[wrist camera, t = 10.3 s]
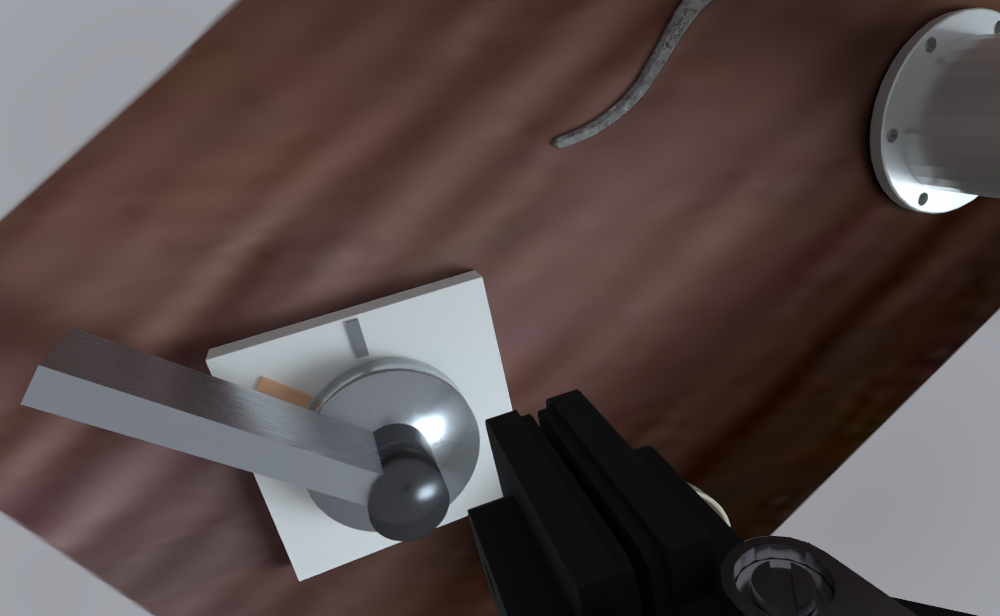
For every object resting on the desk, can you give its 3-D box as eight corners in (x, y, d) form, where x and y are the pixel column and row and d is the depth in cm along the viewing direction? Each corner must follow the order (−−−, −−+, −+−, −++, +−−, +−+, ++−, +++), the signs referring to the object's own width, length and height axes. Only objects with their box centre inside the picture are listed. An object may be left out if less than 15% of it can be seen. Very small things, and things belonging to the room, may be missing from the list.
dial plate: (474, 270, 34) (483, 278, 32) (522, 477, 39) (531, 492, 37) (209, 349, 31) (204, 361, 29) (299, 563, 36) (299, 583, 34)
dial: (498, 393, 34) (540, 451, 29) (422, 527, 36) (448, 609, 30) (123, 237, 26) (77, 274, 21) (40, 416, 28) (-25, 498, 22)
